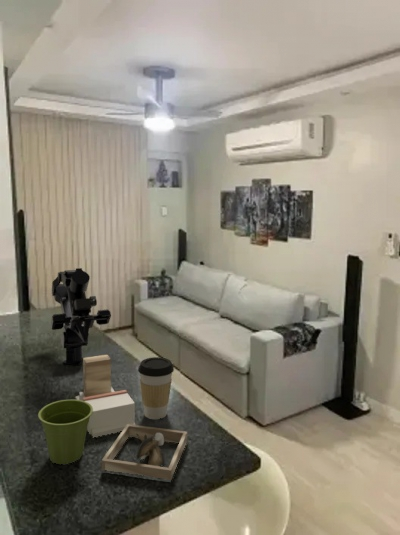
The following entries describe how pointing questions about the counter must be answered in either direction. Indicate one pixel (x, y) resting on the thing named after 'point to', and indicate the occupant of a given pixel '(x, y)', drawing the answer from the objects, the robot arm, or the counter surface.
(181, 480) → the counter surface
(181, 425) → the counter surface
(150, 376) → the coffee cup
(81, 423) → the plant pot
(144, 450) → the eagle figurine
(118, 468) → the frame
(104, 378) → the light wood block
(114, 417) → the housing
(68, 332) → the robot arm
